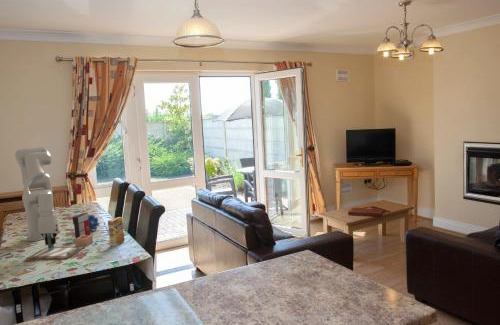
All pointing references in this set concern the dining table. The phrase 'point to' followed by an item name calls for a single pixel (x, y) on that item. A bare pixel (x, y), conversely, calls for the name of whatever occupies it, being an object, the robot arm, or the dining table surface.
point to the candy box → (116, 231)
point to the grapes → (92, 222)
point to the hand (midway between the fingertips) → (50, 244)
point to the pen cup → (84, 240)
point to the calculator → (81, 225)
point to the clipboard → (55, 253)
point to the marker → (49, 242)
